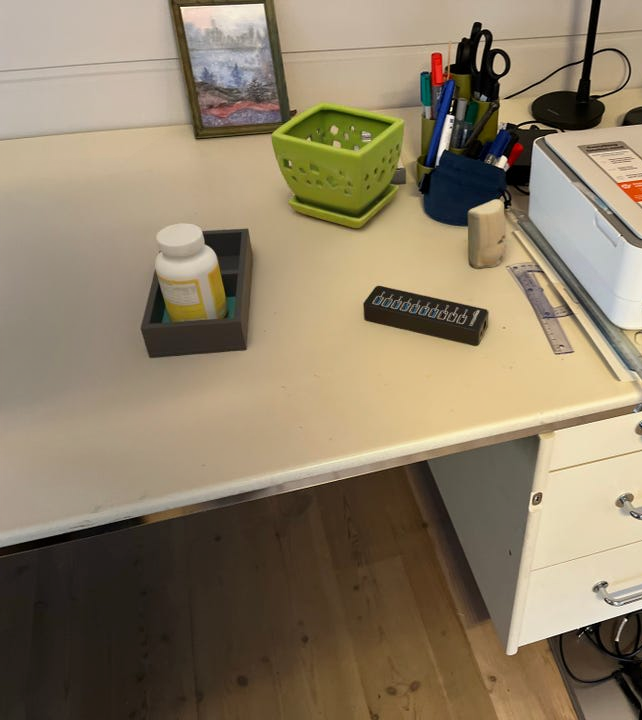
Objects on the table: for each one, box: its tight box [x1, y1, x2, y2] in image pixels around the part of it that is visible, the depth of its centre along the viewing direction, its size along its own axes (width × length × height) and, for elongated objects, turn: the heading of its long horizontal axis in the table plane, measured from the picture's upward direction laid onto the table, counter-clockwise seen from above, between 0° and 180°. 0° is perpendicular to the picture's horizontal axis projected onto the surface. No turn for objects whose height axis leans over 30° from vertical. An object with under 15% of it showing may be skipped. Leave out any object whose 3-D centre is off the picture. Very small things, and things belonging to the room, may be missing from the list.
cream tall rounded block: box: [467, 198, 507, 269], centre depth 99 cm, size 6×5×8 cm
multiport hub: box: [362, 285, 490, 347], centre depth 90 cm, size 4×14×2 cm, turn 73°
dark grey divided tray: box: [140, 227, 254, 359], centre depth 90 cm, size 20×10×4 cm, turn 11°
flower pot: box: [270, 101, 405, 229], centre depth 106 cm, size 14×14×13 cm
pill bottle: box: [154, 222, 229, 322], centre depth 83 cm, size 6×6×12 cm
